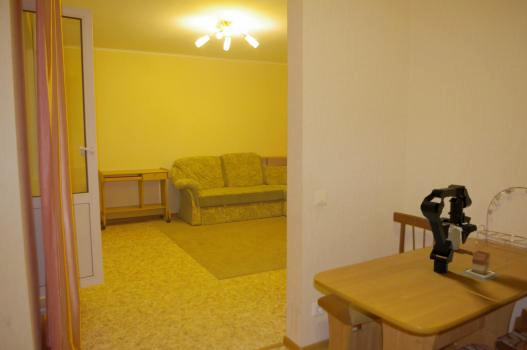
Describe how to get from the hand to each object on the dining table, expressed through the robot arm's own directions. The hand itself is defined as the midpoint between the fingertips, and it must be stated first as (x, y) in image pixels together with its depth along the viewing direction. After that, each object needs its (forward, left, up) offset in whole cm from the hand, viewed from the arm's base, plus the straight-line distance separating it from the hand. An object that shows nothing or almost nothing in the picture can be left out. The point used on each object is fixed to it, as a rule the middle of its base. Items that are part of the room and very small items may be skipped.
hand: (455, 241), depth 190 cm
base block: (-2, -14, -12) cm, 18 cm away
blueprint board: (-2, -14, -13) cm, 19 cm away
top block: (-2, -14, -7) cm, 16 cm away
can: (+22, +16, -13) cm, 30 cm away
